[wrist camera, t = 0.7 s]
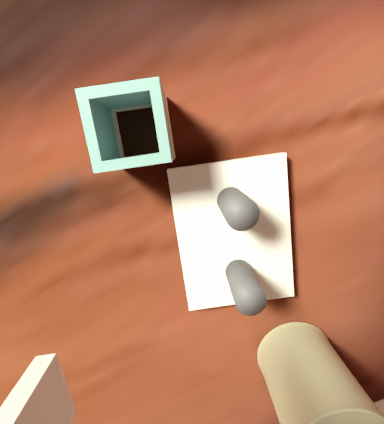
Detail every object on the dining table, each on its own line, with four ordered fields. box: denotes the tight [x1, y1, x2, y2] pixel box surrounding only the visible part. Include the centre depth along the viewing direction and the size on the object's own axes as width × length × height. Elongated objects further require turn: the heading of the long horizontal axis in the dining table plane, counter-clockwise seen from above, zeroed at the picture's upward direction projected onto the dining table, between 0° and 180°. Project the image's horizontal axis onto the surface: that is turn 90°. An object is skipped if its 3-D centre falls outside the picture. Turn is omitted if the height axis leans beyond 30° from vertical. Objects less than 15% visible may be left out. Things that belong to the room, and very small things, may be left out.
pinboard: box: [167, 152, 294, 316], centre depth 27 cm, size 16×12×8 cm
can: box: [257, 322, 384, 424], centre depth 29 cm, size 9×9×12 cm
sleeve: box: [75, 76, 176, 173], centre depth 24 cm, size 6×6×8 cm
